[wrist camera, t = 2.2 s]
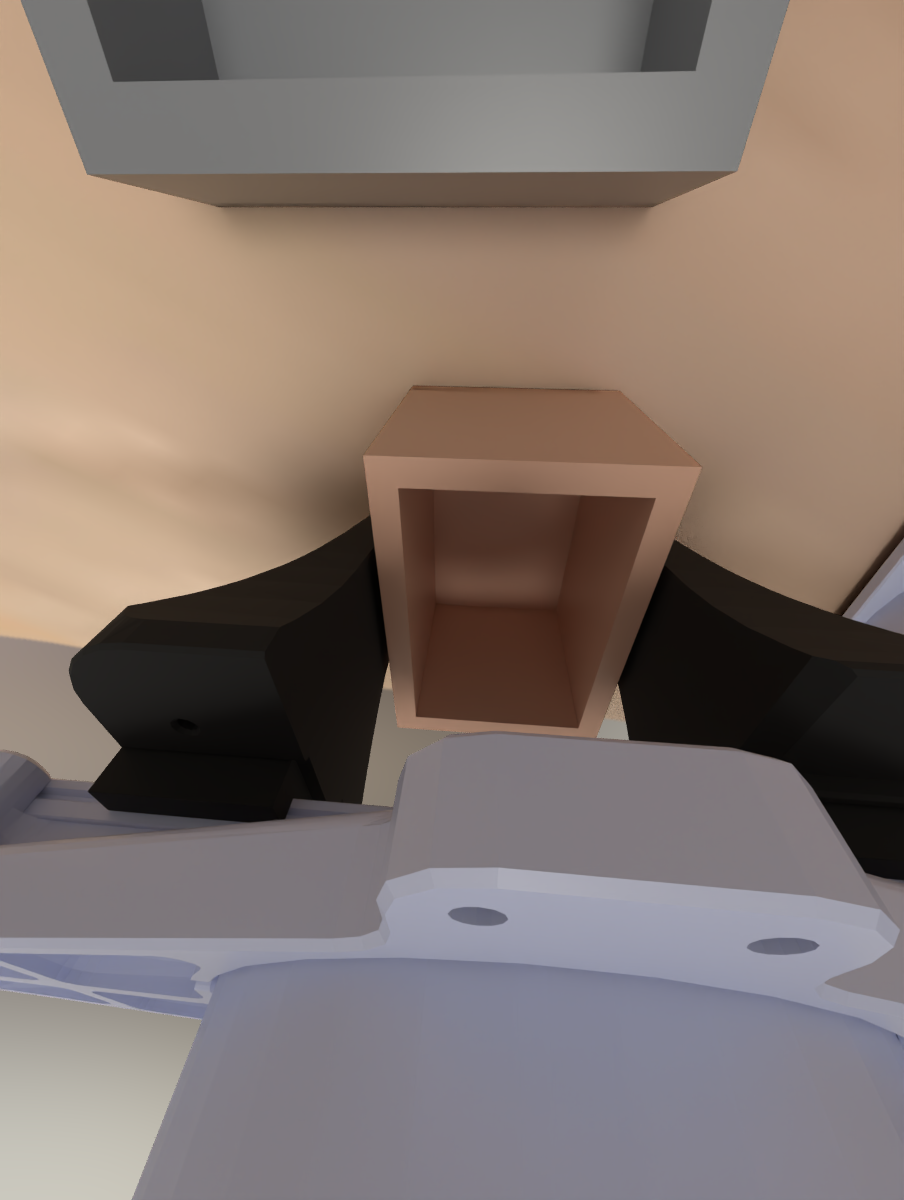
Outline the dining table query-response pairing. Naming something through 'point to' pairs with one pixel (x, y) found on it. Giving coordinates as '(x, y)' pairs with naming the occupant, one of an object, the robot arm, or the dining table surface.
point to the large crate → (409, 97)
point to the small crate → (518, 551)
